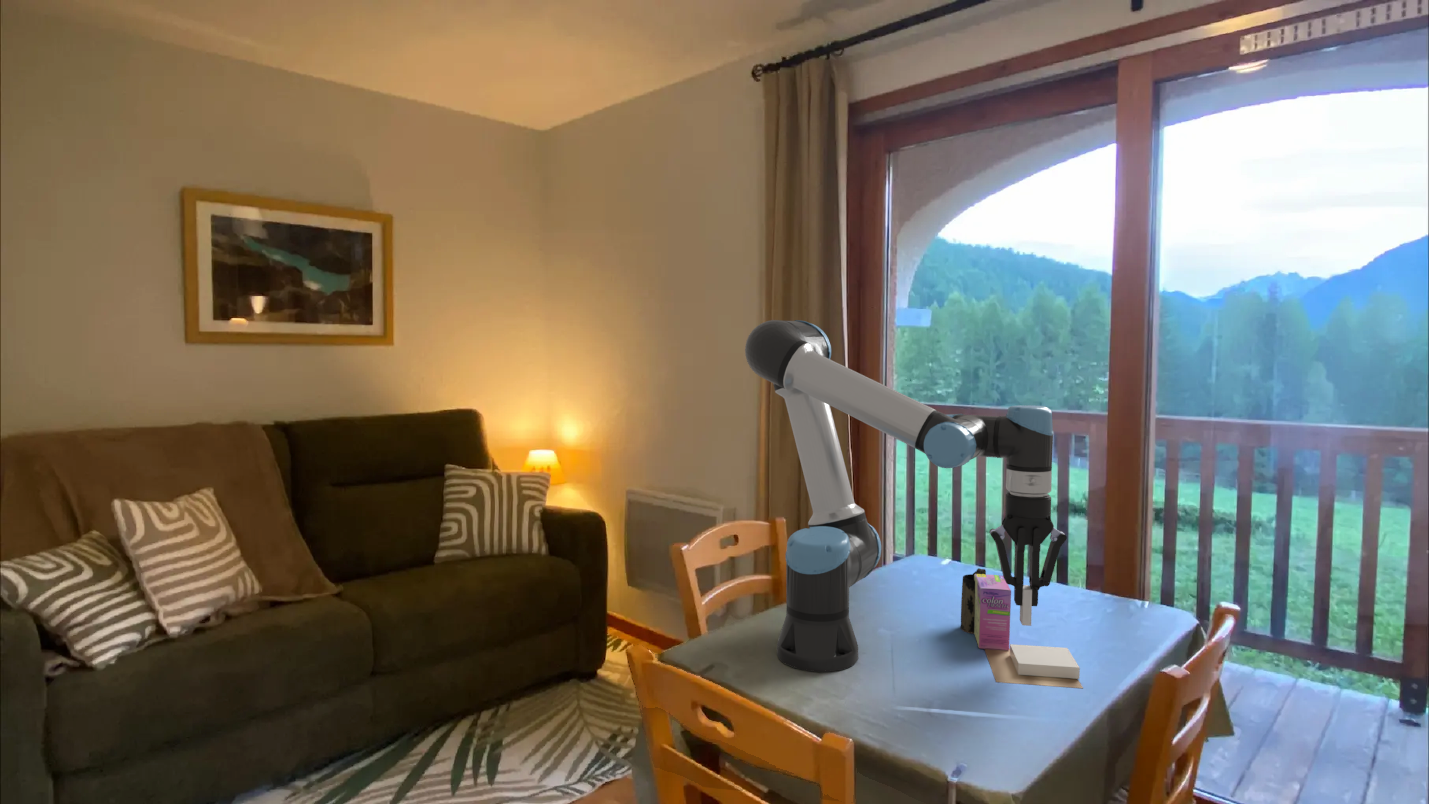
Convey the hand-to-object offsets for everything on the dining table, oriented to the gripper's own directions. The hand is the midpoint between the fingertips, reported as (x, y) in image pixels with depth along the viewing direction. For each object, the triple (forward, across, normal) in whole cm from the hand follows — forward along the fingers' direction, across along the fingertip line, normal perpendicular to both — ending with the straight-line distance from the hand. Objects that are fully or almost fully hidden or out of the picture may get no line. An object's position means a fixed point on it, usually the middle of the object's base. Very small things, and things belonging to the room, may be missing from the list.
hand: (1025, 622), depth 143 cm
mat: (+8, +1, 0) cm, 8 cm away
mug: (+9, -6, +18) cm, 21 cm away
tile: (+7, -2, 0) cm, 7 cm away
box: (+8, -4, +12) cm, 15 cm away
